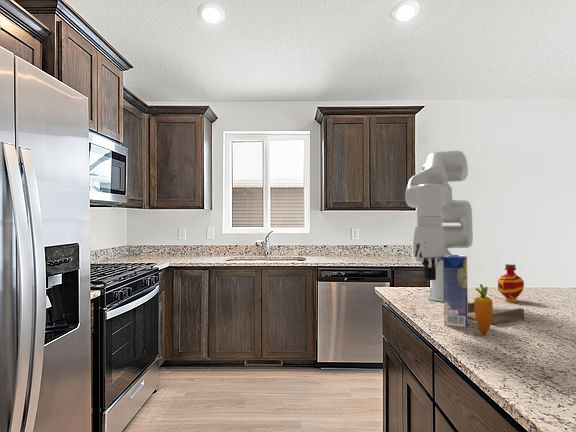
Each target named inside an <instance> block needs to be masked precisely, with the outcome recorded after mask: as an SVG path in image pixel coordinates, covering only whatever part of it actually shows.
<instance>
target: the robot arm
mask: <svg viewBox="0 0 576 432" xmlns="http://www.w3.org/2000/svg"><path fill="white" fill-rule="evenodd" d="M467 160H468V159H467V158H466V155H465V153H464V152H462V151H460V150H447V151H435V152H432V153H430V154H429V155H428V156H427V157H426V159H425V163H424V164H423V165H422V167H421V171H420V172H418V173H416V174H415V175H413V176H412V177H410V179H409V180H408V183H407V185H406V189H405V196H404V197H405V199H404V200H405V203H406V205H407V206H408V207H410V208H415V209H416V220H417V221H416V222H417V223H416V225H417V226H415V228H414V233H413V243H412V254H413V257H414V258H416V262H418V263H421V264H422V267H423V268H424V280H427V281H431V287H428V288H427V289H426V290H425V292H427V293H429V295H428V296H427V299H428V300H430V301H435V302H442V303H444V262H443V257H444V256H445V255H453V253H452V252H451V251H450V250H449V249H468V248H470V247H472V245H473V242H474V241H473V237H474V236H473V233H474V230H473V209H472V205H471V203H470V202H469V201H468V200H465V199H456V200H454V199H453V189H452V186H451V185H450V184H449V183H451V182H452V183H453V182H463V181H465V180H466V179H467V177H468V176H469V175H468V173H469V165H468V161H467ZM455 223H456V224H459V225H447V224H455ZM443 224H445V225H443Z"/></svg>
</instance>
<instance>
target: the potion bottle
mask: <svg viewBox="0 0 576 432" xmlns="http://www.w3.org/2000/svg"><path fill="white" fill-rule="evenodd" d="M504 266H505V268H504V270H505V271H506V273H505V274H503V275H501V276H500V277H499V278H498V279H497V291H498V292H500V294H501V295H503V296H504V297H505V298H504V300H503V301H504V302H511V303H517V302H518V299H517V298H518V297H519V296H520V295H521V293H522V292H523V290H524V288H525V282H524V280H523V278H522V277H521V276H519V275H518V274H517V273H516V272H515V271H516V270H517V268H516V264H509V263H508V264H504Z"/></svg>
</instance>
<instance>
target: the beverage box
mask: <svg viewBox="0 0 576 432" xmlns="http://www.w3.org/2000/svg"><path fill="white" fill-rule="evenodd" d="M443 262H444V302H443V321H444V322H443V323H444V326H449V327H450V326H454V327H465V328H468V324H469V323H468V322H469V319H468V303H469V301H468V299H469V298H468V297H469V296H468V255H467V254H452V255H445V256H444V257H443Z"/></svg>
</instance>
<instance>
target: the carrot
mask: <svg viewBox="0 0 576 432" xmlns="http://www.w3.org/2000/svg"><path fill="white" fill-rule="evenodd" d="M479 287H480V288H478V287H476V288H474V289H475V291H477V292H478V293H479V294H480V295H479V296H475V298H474V299H473V302H474V308H475V317H476V321H475V322H476V325H477V328H478V330H479V332H480V334H481V336H483V337H485V336H486V335H487V334H488V332H489V330H490V328H491V320H492V310H494V309H493V308H494V307H493V305H494V303H493V299H491V298H490V297H488V296H487V294H488V293H487V292H488V287H487V286H484V285H483V283H480V284H479Z"/></svg>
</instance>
